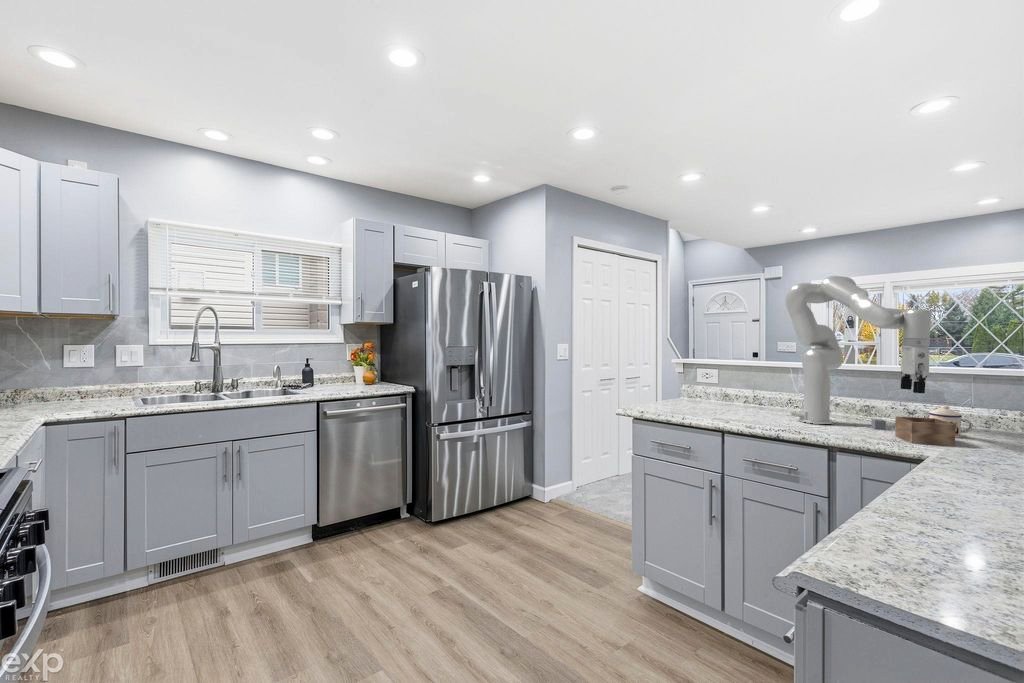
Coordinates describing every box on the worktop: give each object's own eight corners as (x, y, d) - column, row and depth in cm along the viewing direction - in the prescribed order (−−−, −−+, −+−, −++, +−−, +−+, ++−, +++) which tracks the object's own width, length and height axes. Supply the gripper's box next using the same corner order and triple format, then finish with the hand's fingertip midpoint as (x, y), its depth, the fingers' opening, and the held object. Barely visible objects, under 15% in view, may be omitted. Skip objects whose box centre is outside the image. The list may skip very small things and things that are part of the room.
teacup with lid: (930, 438, 175) (931, 406, 175) (925, 433, 183) (926, 403, 183) (975, 442, 169) (976, 409, 169) (968, 437, 177) (969, 406, 177)
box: (911, 445, 163) (912, 422, 163) (895, 438, 174) (895, 416, 174) (954, 448, 159) (955, 424, 159) (935, 440, 171) (935, 418, 171)
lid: (865, 434, 183) (865, 421, 183) (851, 428, 196) (851, 415, 196) (907, 437, 179) (908, 424, 179) (890, 430, 192) (891, 417, 192)
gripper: (941, 345, 163) (937, 395, 164) (916, 343, 179) (913, 388, 180) (914, 344, 165) (910, 393, 166) (892, 342, 182) (889, 387, 183)
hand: (912, 391), depth 173 cm, fingers open, 9 cm apart
